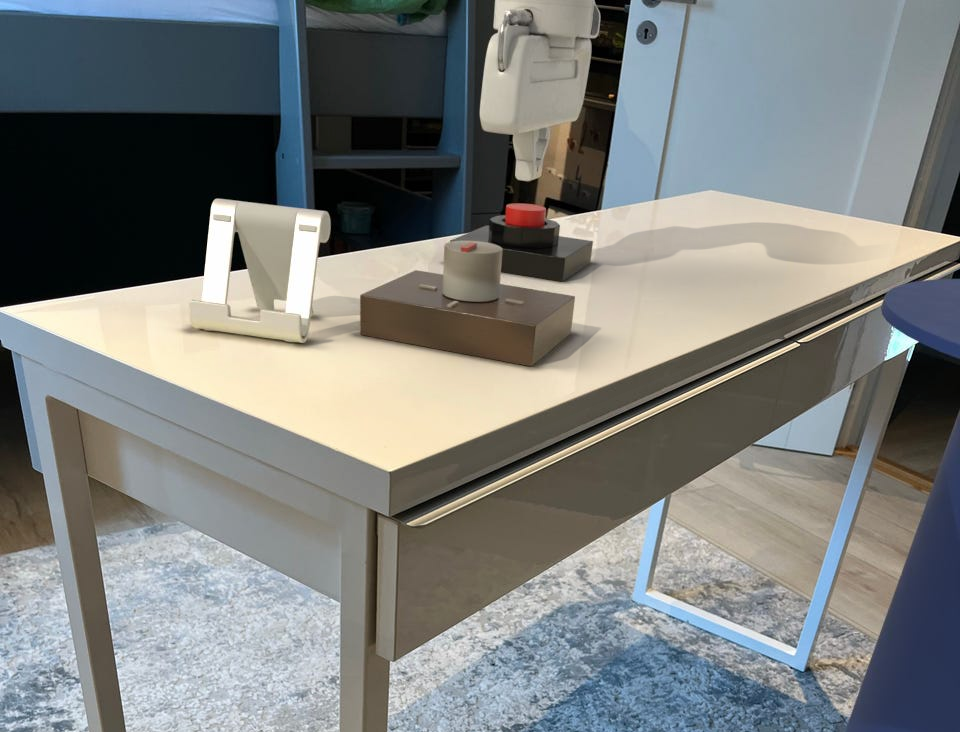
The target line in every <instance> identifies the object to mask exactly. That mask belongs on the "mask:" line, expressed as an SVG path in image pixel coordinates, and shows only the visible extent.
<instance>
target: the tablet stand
mask: <svg viewBox="0 0 960 732" xmlns="http://www.w3.org/2000/svg"><path fill="white" fill-rule="evenodd" d="M209 215H210V216H209V225H208V234H207V245H206V254H205V264H204V275H203V281H202V284H203V285H202V294H201V300H199V299H190V300H189V302H188V307H189V308H188V311H189V312H188V313H189V315H188V316H189V321H190V324H191V327H193V328H194V329H201V330H204V331H209V332H215V331H216V332H222V333H228V334H229V333H230V334H236V335H242V336H243V335H244V336H250V337H251V336H252V337H258V338H265V339H272V340H280V341H284V342H288V343H301V344H304V343H306V342H307V340H308V338H309V334H310V327H311V326H310V325H311V317H313V316H314V312H315V311H314V308H313V299H314V294H315V293H314V292H315V284H316V275H317V268H318V267H317V266H318V259H319V252H320V251H319V250H320V245H321V243H323V244H325V243H327V242H328V241H329V238H330V235H331V229H332V228H331V225H332V223H331V222H332V221H331V216H330V214H329V212H328V211H326V210H320V209H319V210H318V209H310V208H303V207H302V208H301V207H294V206H293V207H292V206H284V205H277V204H276V205H275V204H268V203H259V202H252V201H251V202H250V201H249V202H248V201H242V200H233V199H225V198H215V199H214V200H213V201H212V203H211V207H210V214H209ZM235 233H237V234H238V238H239V241H240V246H241V250H242V253H243V257H244V262H245V264H246V268H247V273H248V277H249V280H250V285H251V288H252V292H253V295H254V300H255V304H256V307H257V308H258V310H260V311H259V318H252V317H244V316H237V315H232V311H231V306H230V304H228V296H229V288H230V287H229V285H230V277H231V270H232V269H231V267H232V258H233V248H234V241H235V240H234V239H235ZM276 300H278V301H284V302H285V301H286V302H285V311H279V310H275V301H276Z"/></svg>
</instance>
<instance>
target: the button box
mask: <svg viewBox="0 0 960 732" xmlns="http://www.w3.org/2000/svg"><path fill="white" fill-rule="evenodd" d="M505 215H506V214H501V215H495V216H493V217H491V218H489V223H488V224H489V225H488V224H487V225H484V226H482V227H479V228H477V229H474V230H472V231H470V232H467V233H465V234H462V235H460V236H457V237H455V238H453V239H450V240H449V242H452V241H480V242H486V243H491V244H495V245H498V246H500V247H501V248H502V249H503V252H502V265H501V273H507V274H513V275H519V276H526V277H533V278H537V279H543V280H550V281H555V282H564V281H565V280H567V279H568V278H569V277H571V276H573V275H574V274H576V273H577V272H579V271H580V270H582V269H584V268H585V267H587V266H588V265H589V264H591V260H592V253H593V245H594V241H593V240H589V239H581V238H575V237H568V236H560V231H561V230H560V229H561V224H560V223H558V222H557V221H556V220H552V219H549V218H545V225H544V226H520V225H513V224H509V223H506V222H505Z"/></svg>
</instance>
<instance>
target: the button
mask: <svg viewBox="0 0 960 732" xmlns="http://www.w3.org/2000/svg"><path fill="white" fill-rule="evenodd" d="M504 215H505V222H506V223H509V224H513V225H520V226H544V225H545V219H546V215H547V208H546V207H545V206H542V205H538V204H532V203H520V202H519V203H518V202H517V203H515V202H514V203H508V204H506V206H505V214H504Z"/></svg>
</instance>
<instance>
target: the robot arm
mask: <svg viewBox="0 0 960 732" xmlns="http://www.w3.org/2000/svg"><path fill="white" fill-rule="evenodd" d="M600 25H601V12H600V10H599V8H598V6H597V4H596V1H595V0H494V13H493V25H492V26H493V27H492V28H493V29H494V30H495V31H497V32H496V33H494V34H493V35H491V37H490V40H489V41H488V44H487V48H486V54H485V59H484V67H483V76H482V82H481V83H482V86H481V93H480V103H479V120H480V125H481V129H482V130H483V131H484V132H488V133H494V134H500V135H501V134H502V135H512V145H513V150H514V156H515V172H514V173H515V174H514V176H515V179H517V181H522V182H531V181H534V180H536V179H539V178H541V177H542V174H543V164H544V158H545V155H546V153H547V150H548V146H549V144H550V141H551V140H550V139H551V132H552V127H555V126H560V125H564V124H568V123H572V122H576V121H577V120H578V118H579V117H580V114H581V112H582V109H583V105H584V101H585V94H586V89H587V84H588V83H587V82H588V78H589V70H590V66H591V65H590V64H591V59H592V41H591V39H596V38H597V37H598V36H599V34H600Z"/></svg>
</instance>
